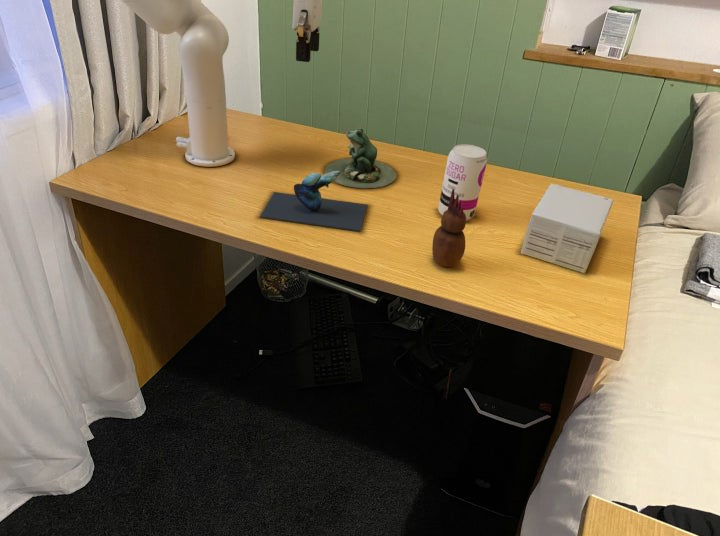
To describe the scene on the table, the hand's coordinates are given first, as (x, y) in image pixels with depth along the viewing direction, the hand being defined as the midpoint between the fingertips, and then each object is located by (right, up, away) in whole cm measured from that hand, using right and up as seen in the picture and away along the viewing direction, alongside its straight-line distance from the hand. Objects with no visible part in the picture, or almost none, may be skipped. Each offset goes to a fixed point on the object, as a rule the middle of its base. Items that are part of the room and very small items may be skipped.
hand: (307, 55), depth 132 cm
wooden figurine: (+28, -49, -18) cm, 59 cm away
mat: (+2, -37, -5) cm, 37 cm away
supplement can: (+34, -37, -2) cm, 50 cm away
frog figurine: (+13, -25, +13) cm, 31 cm away
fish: (+2, -37, -5) cm, 37 cm away
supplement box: (+54, -45, -11) cm, 71 cm away
